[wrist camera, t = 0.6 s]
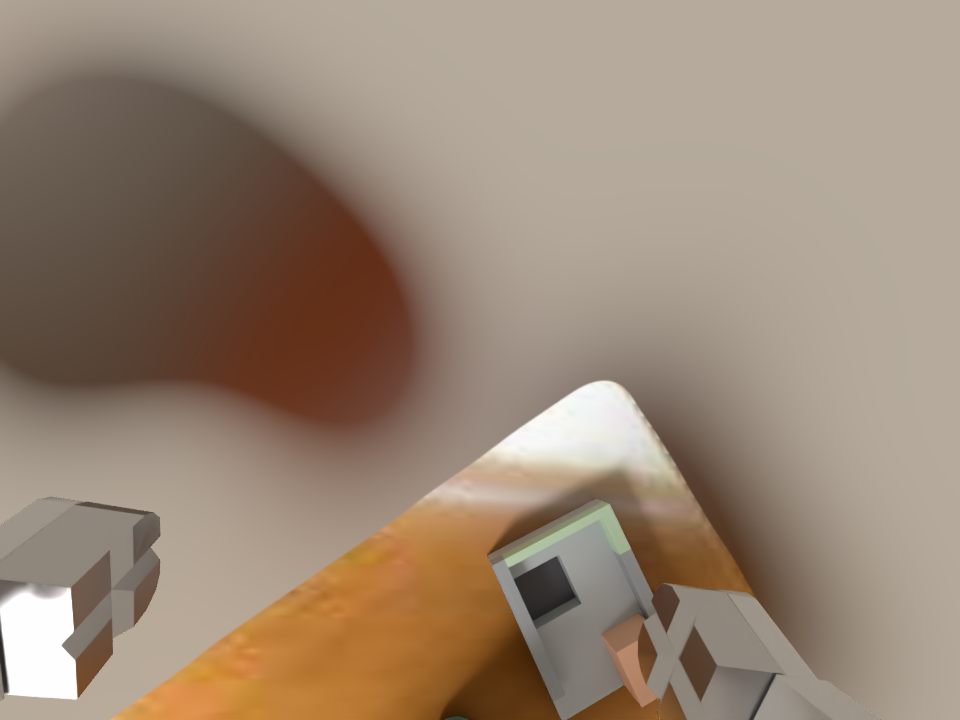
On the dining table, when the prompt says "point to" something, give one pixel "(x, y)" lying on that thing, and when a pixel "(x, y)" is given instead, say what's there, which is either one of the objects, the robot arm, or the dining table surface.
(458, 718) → the beverage bottle
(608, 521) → the tray
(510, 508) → the dining table surface
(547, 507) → the dining table surface
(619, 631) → the block
